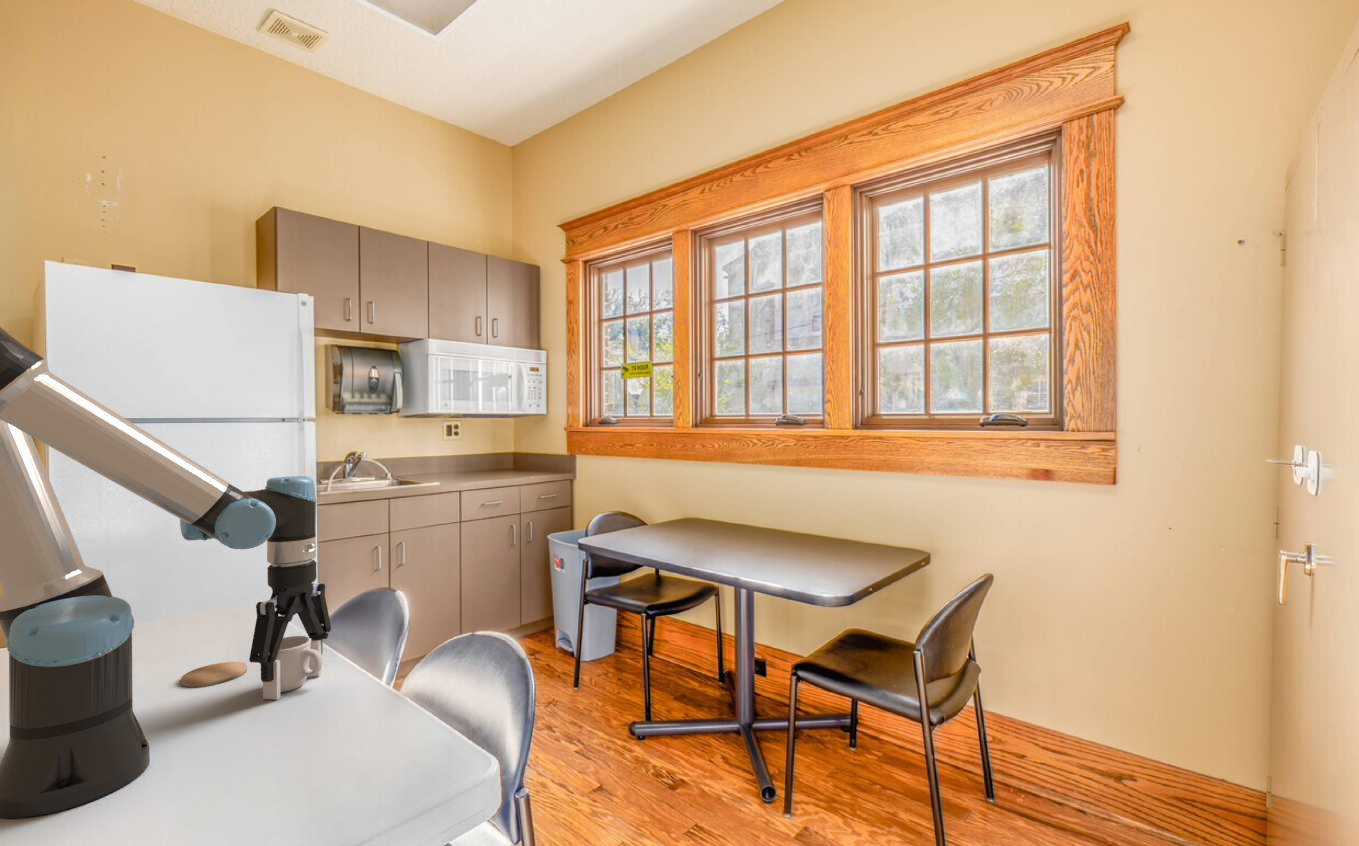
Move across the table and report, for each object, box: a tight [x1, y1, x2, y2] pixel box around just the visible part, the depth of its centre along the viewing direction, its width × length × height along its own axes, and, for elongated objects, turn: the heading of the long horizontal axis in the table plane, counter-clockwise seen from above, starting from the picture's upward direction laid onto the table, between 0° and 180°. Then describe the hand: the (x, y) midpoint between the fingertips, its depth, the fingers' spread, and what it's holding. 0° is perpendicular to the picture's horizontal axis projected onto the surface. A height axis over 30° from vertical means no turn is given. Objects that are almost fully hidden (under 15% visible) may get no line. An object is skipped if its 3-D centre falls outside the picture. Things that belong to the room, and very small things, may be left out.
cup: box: [268, 635, 323, 693], centre depth 112 cm, size 11×8×8 cm
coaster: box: [180, 661, 248, 688], centre depth 117 cm, size 10×10×1 cm
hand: (293, 685), depth 112 cm, fingers open, 9 cm apart
